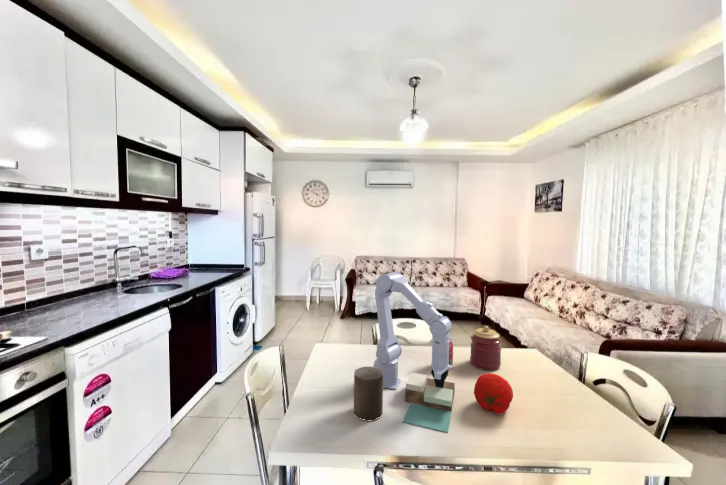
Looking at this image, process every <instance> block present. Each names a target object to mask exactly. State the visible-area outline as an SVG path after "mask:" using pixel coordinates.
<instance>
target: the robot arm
mask: <svg viewBox="0 0 726 485" xmlns="http://www.w3.org/2000/svg"><path fill="white" fill-rule="evenodd" d="M375 283H376V284H375V285H376V286H375V290H374V297H375V298H374V299H375V305H376V312H377V313H376V314H377V322H378V329H379V330H378V331H379V337H380V338H379V339H378V342H377V343H376V352H375V357H376V359H375V360H374V362H373V366H372V367H376V368H378V369H380V370H382V372H383V388H386V389H392V390H397V388H398V386H399V384H400V382H401V378H398V377H399V376H398V375H399V357H401V355H402V353H403V352H402V347H401V345H400V343H399V339H398V337H397V336H395V331H394V325H393V317H392V316H393V315H392V311H391V310H392V309H391V301H390V296H391V295H392V293H400V294H401V295H403V296H404V297H405V298H406V299H407V300H408V301H409V302H410V303H411V304H412V305H413V306H414V307H415V308H416V310H415V311H416V314H417V315H418V316H419V317H420V318H421V319H422V320H423V321H424V323H426V325H428V327H429V331H430V333H431V335H432V336H431V337H432V341H431V347H432V348H431V363H430V364H431V365H430V367H431V371H430V374H431V375H432V379H434V381H435V386H436V387H440V388H443V387H444V382H445V381H446V379H447V378H448V375H449V370H452V369H453V364H452V365H449V339H450V332H451V330H452V329H453V324H452V320H450V318H449V317H448V316H444V315H443V313H440V312H439V311H438V310H437V309H436V308H435V307H434V304H433V303H432V302H429V301H428V300H427V301H426V300H423V299H422V298H421V296H420V295H419V294H418V293H417V292H416V291H415V290H414V288H412V287H413V286H411V285H410V284H409V283H408V281H407V279H406V277H405V276H403V274H402V273H401V272H399V271H393V272H389V273H382V274H381V275H379V276H378V277H377V278H376V280H375Z"/></svg>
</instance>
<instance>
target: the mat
mask: <svg viewBox="0 0 726 485" xmlns="http://www.w3.org/2000/svg"><path fill="white" fill-rule="evenodd" d="M407 407H408V408H407V409H406V412H405V414H404V417H403V419H402V423H404V424H408V425H413V426H417V427H420V428H425V429H429V430H432V431H433V430H434V431H438V432H442V433H447V434H448V433H449V428H450V422H451V417H452V411H449V410H444V409H439V408H434V407H430V406H425V405H420V404H415V403H411V402H409V405H408V406H407Z"/></svg>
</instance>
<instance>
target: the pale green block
mask: <svg viewBox="0 0 726 485" xmlns="http://www.w3.org/2000/svg"><path fill="white" fill-rule="evenodd" d="M452 399H453V390H451V389H445V388H440V387H435V386H429V385H427V386H426V389H425V393H424V401H425V402H430V403H435V404H440V405H445V406H450V407H452V408H453V405H452ZM453 400H454V399H453Z"/></svg>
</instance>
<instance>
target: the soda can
mask: <svg viewBox="0 0 726 485" xmlns="http://www.w3.org/2000/svg"><path fill="white" fill-rule="evenodd" d="M453 361H454V345H453V341H452V339H450V338H449V365H452V366H453Z"/></svg>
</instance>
